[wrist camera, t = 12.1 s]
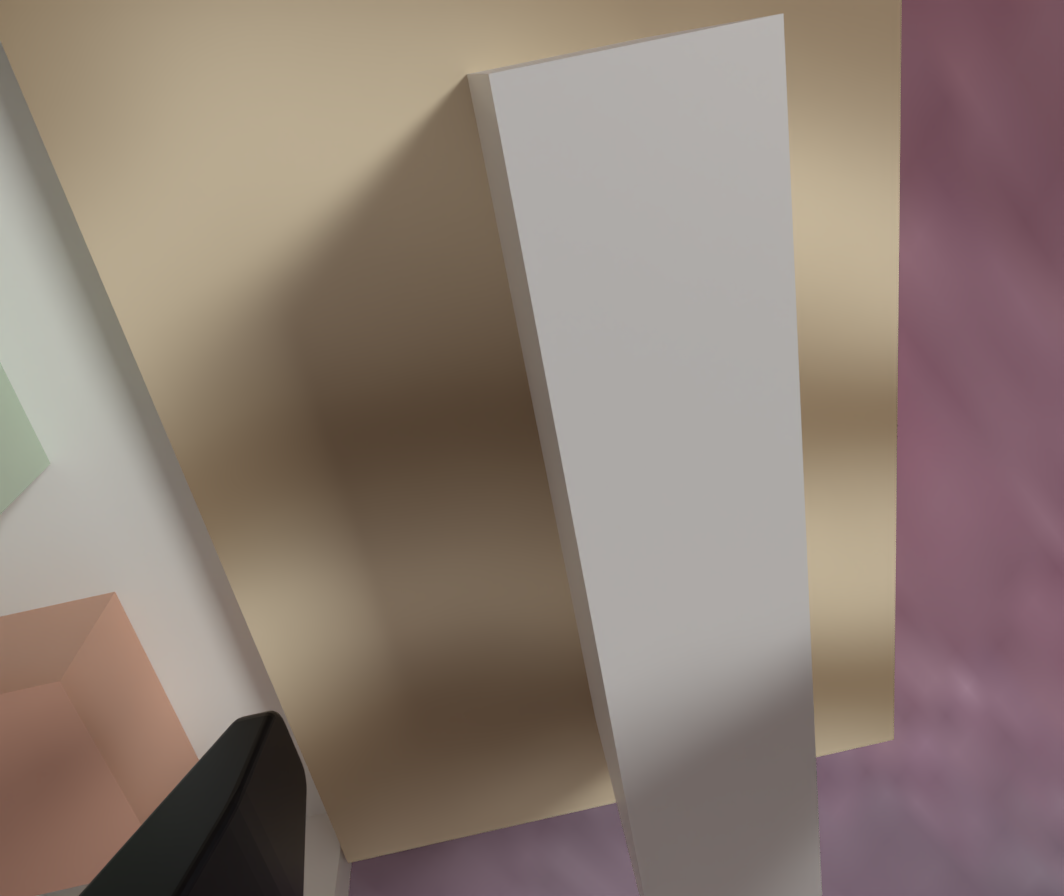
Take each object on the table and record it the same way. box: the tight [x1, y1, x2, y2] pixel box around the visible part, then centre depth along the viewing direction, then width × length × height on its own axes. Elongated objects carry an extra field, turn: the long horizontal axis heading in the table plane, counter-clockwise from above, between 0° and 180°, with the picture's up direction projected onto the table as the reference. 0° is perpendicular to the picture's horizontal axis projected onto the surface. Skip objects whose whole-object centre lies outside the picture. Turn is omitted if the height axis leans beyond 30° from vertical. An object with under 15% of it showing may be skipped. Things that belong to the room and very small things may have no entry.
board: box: [0, 0, 902, 863], centre depth 14 cm, size 17×12×2 cm
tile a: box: [0, 592, 199, 896], centre depth 15 cm, size 4×4×2 cm
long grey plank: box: [467, 13, 822, 896], centre depth 12 cm, size 12×2×5 cm, turn 10°
